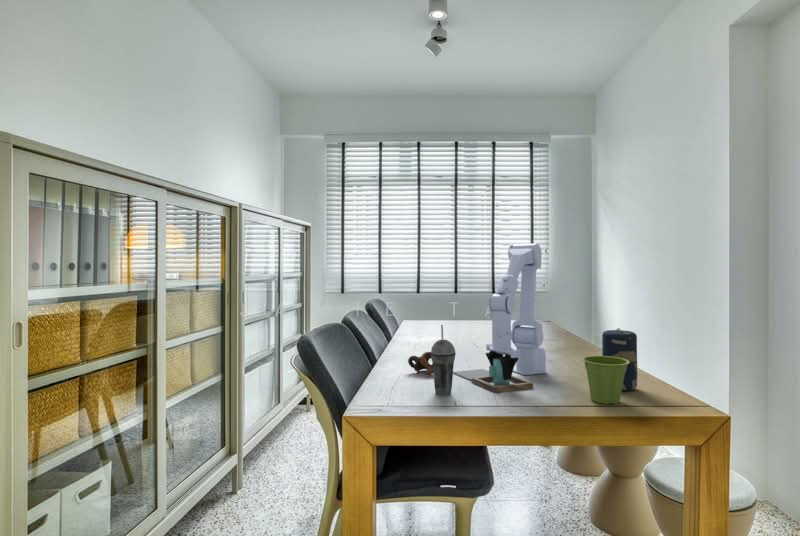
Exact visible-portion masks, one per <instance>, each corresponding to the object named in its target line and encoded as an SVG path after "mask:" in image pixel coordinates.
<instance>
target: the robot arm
mask: <svg viewBox="0 0 800 536" xmlns="http://www.w3.org/2000/svg"><path fill="white" fill-rule="evenodd" d="M507 256H508V260H509V263H508V268H507V271H506V274H505V275H504V276H502V277H501V278H500V280H499V283H498V286H497V288H496V291H495V293H493V294H492V295H490V296H489V299H488V310H489V316H490V318H491V332H492V333H491V343H487V344H486V351H489V352H485V356H486V358H487V360H488V362H489V366H493V359H494V358H499V359H500V361H501V364H502V369H503V378H504V380H510V379H511V376H513V372H514V373H517V374H520V375H523V376H529V375H539V374H547V373H548V371H547V369H546V368H547V367H546V366H547V365H546V363H547V361H546V360H547V358H546V355H547V354H546V350H545V349H544V347H543V346H541V345H542V344H543V342H544V331H543V324H542V323H541V322H540V321H539V320H538V319H537V318H536V317H535V307H536V285H537V283H536V282H537V270H538V269H541V267H542V248H541V246H540V245H539V243H511V244H510V245H509V246H508V249H507ZM520 274H521V276H520ZM519 276H520V277H521V278H520V280H521V281H520V302H519V318H517V319H516V320H514V321H513V323H512V313H513V311H514V310H515V302H516V301H515V300H516V297H515V295H516V293H517V289H518V287H519V280H518V278H519ZM527 326H528V327H527ZM512 344H513V345H514V347H516V348H515V349H514V348H513V347H512ZM515 366H516V367H515Z"/></svg>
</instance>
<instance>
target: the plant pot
mask: <svg viewBox="0 0 800 536" xmlns="http://www.w3.org/2000/svg"><path fill="white" fill-rule="evenodd" d="M581 359H582V361H583V362H584V366H585V370H586V375H587V380H588V381H587V382H588V387H589V393H590V399H591V400H592V401H593V402H594V403H598V404H602V403H603V404H602V405H610V404H612V405H617V404H619V403H620V402H621V398H622V397H621V396H622V395H621V394H622V391H623V390H622V386H623V381H624V375H625V372H626V369H627V365H628V364H629V363H630V362H629V361H628V360H626V359H622V358H617V357H610V356H602V355H587V356H584V357H581Z"/></svg>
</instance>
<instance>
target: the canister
mask: <svg viewBox="0 0 800 536" xmlns="http://www.w3.org/2000/svg"><path fill="white" fill-rule="evenodd" d="M601 339H602V340H601V341H602V342H601V343H602V344H601V350H602V351H601V353H602V354H601V356H610V357H617V358H622V359H626V360H628V361H629V362H630V363H629V364H628V365H627V369H626V372H625V375H624V381H623V386H622V391H632V390H635V389H636V388H637V387H638V336H637V333H635V331H634V332H633V331H630V330H622V329H621V328H619V327H618V328H616V329H609V330H605V331H603V332H602V336H601Z"/></svg>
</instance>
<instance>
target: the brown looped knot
mask: <svg viewBox="0 0 800 536" xmlns="http://www.w3.org/2000/svg"><path fill="white" fill-rule="evenodd" d="M430 359H431V351H425V352H423V353H422V355H421V356H417V355H411V356H409V357H408V359H407V362H408V365H409V366H410V367H411V368H412V369H413V370H414V371H415V372H418V373H419V372H420V371H422V370H426V372H425V375H426V376H427V377H431V376H432V374H433V363H432V364H430V362H429V361H430ZM431 360H432V359H431Z"/></svg>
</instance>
